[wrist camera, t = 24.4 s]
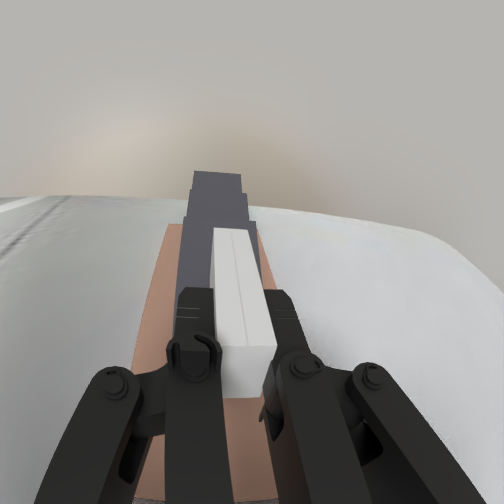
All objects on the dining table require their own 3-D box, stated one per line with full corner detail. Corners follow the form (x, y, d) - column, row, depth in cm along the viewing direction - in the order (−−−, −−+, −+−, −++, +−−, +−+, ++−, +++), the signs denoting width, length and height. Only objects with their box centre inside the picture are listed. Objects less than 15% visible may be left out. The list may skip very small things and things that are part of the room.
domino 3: (270, 364, 13) (255, 221, 19) (171, 363, 12) (184, 216, 18) (262, 373, 15) (250, 239, 21) (174, 372, 14) (184, 235, 20)
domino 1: (245, 247, 23) (240, 174, 29) (185, 243, 22) (194, 170, 28) (242, 261, 24) (237, 188, 30) (185, 258, 23) (193, 185, 30)
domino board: (331, 487, 9) (337, 483, 9) (121, 494, 7) (117, 492, 7) (256, 235, 32) (257, 229, 31) (168, 230, 30) (168, 223, 29)
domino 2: (255, 294, 18) (246, 193, 24) (178, 291, 17) (190, 189, 23) (250, 307, 20) (243, 209, 26) (180, 305, 19) (189, 205, 25)
